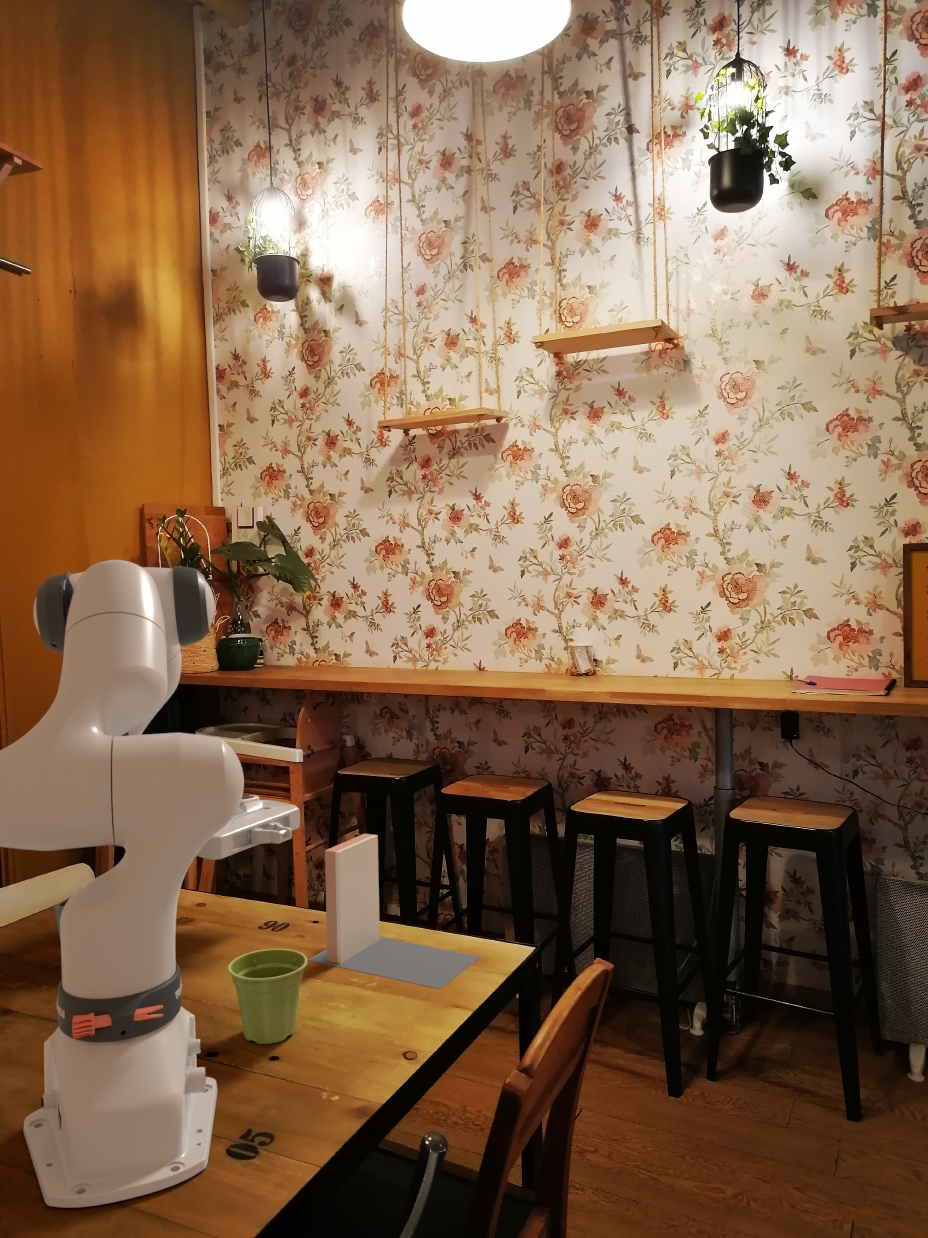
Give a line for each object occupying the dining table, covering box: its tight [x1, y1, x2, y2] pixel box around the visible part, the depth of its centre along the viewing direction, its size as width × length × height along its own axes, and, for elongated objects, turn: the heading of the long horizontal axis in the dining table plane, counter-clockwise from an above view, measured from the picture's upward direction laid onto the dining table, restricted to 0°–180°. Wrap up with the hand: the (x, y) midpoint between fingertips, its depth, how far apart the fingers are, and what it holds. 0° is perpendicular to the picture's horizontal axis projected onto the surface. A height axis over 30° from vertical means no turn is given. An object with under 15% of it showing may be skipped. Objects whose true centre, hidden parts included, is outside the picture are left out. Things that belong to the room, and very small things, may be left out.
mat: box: [307, 936, 482, 990], centre depth 134 cm, size 22×12×1 cm, turn 62°
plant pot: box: [227, 948, 308, 1045], centre depth 113 cm, size 9×9×9 cm
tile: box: [324, 833, 381, 964], centre depth 137 cm, size 2×10×16 cm, turn 152°
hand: (286, 836), depth 143 cm, fingers closed
